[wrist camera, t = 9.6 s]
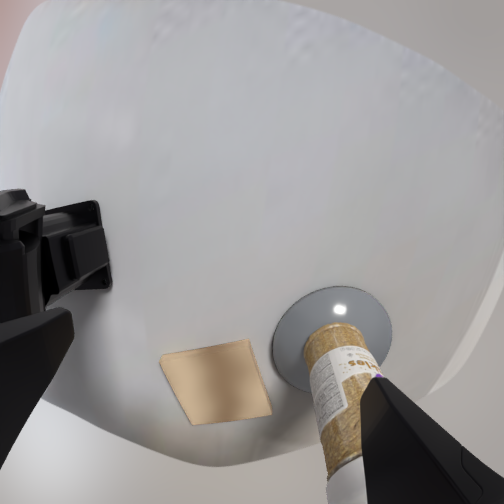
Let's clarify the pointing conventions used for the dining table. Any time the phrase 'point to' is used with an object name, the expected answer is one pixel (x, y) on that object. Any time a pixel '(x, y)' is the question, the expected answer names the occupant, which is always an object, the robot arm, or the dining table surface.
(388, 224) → the dining table surface
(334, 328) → the sprinkles bottle
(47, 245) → the robot arm
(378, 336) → the coaster
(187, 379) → the tan square cloth
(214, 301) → the dining table surface
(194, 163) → the dining table surface
